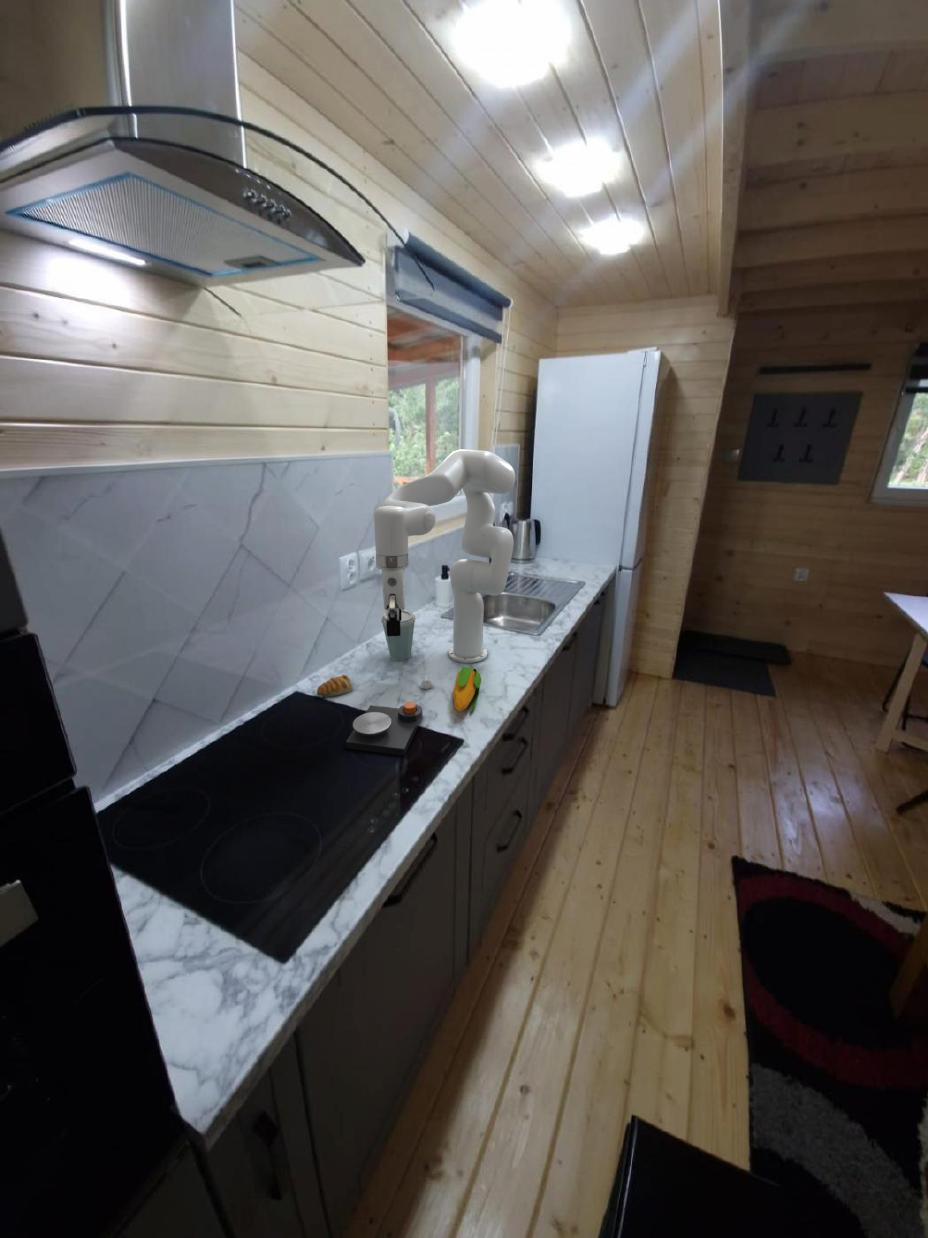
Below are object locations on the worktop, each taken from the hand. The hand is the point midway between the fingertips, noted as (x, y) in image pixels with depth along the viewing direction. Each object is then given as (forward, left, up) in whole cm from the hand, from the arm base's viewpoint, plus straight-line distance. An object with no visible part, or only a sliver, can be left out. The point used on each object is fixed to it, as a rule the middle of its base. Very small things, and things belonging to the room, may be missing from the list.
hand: (394, 627), depth 122 cm
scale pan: (+13, -2, -20) cm, 24 cm away
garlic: (-12, +4, -23) cm, 27 cm away
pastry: (-5, -20, -23) cm, 31 cm away
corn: (-7, +17, -23) cm, 30 cm away
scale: (+11, 0, -23) cm, 26 cm away
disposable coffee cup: (-29, -9, -23) cm, 38 cm away
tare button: (+5, +5, -20) cm, 21 cm away
